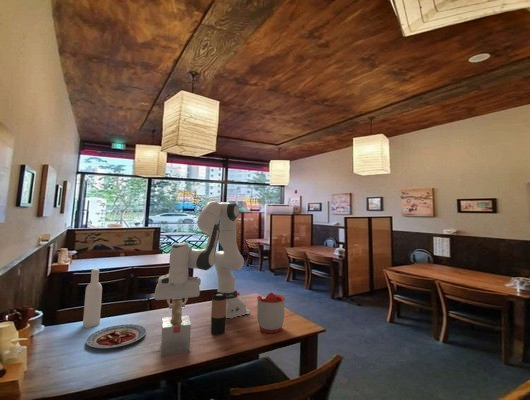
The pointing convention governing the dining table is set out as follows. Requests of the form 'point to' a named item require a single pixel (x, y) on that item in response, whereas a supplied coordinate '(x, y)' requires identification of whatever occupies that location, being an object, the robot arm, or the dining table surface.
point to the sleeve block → (175, 336)
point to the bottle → (92, 301)
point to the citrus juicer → (270, 312)
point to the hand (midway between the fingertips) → (176, 307)
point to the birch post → (176, 310)
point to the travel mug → (218, 313)
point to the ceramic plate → (116, 336)
